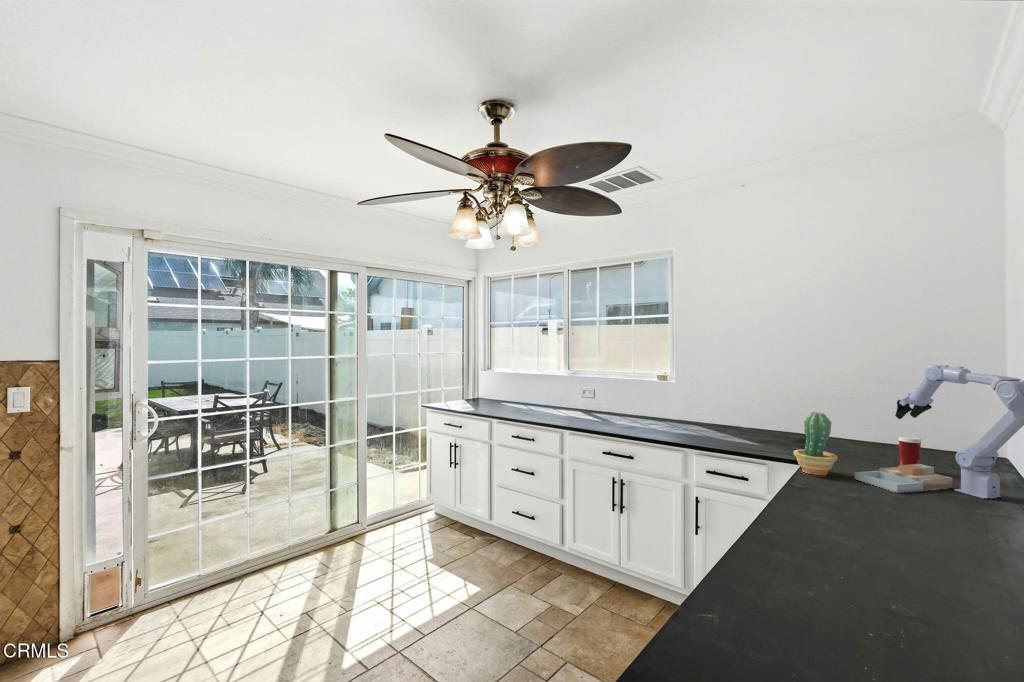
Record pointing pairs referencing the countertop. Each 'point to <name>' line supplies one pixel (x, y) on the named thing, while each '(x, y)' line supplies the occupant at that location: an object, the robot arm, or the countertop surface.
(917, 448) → the paper cup
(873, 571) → the countertop surface
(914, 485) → the box
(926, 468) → the sage tile
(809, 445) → the potted cactus
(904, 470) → the terracotta tile
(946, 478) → the wooden board
